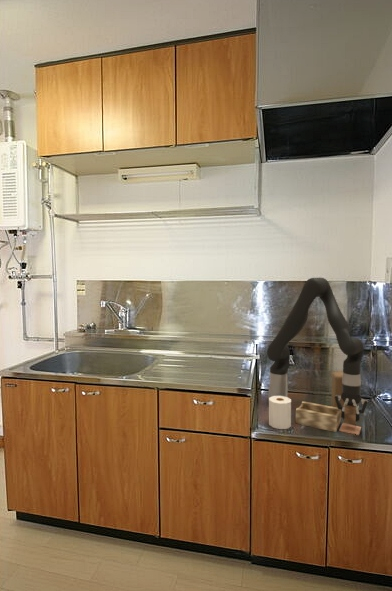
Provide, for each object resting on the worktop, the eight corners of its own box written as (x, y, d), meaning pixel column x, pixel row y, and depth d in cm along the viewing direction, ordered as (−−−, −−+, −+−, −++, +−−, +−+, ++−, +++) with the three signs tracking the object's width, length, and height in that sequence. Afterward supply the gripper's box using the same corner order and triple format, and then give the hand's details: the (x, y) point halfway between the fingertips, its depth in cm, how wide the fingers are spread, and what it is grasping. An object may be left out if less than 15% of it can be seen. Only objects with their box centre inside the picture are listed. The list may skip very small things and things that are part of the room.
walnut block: (344, 422, 155) (344, 405, 155) (346, 418, 159) (346, 401, 159) (355, 425, 153) (355, 407, 152) (356, 421, 157) (357, 403, 156)
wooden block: (356, 417, 170) (357, 377, 168) (334, 415, 172) (335, 376, 170) (351, 409, 179) (352, 371, 178) (330, 408, 181) (331, 370, 180)
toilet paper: (266, 419, 168) (267, 395, 167) (288, 420, 167) (288, 395, 166) (270, 429, 157) (270, 403, 157) (293, 429, 157) (293, 403, 156)
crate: (295, 423, 163) (295, 409, 163) (302, 414, 174) (302, 401, 173) (336, 432, 154) (336, 417, 153) (340, 422, 164) (341, 408, 164)
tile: (339, 430, 155) (339, 429, 155) (342, 424, 162) (342, 423, 162) (358, 435, 151) (359, 433, 151) (361, 428, 158) (361, 426, 158)
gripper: (332, 382, 156) (332, 419, 157) (368, 387, 148) (367, 426, 149) (335, 378, 162) (335, 414, 163) (369, 383, 154) (369, 420, 155)
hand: (350, 419), depth 156 cm, fingers closed on walnut block, 4 cm apart
